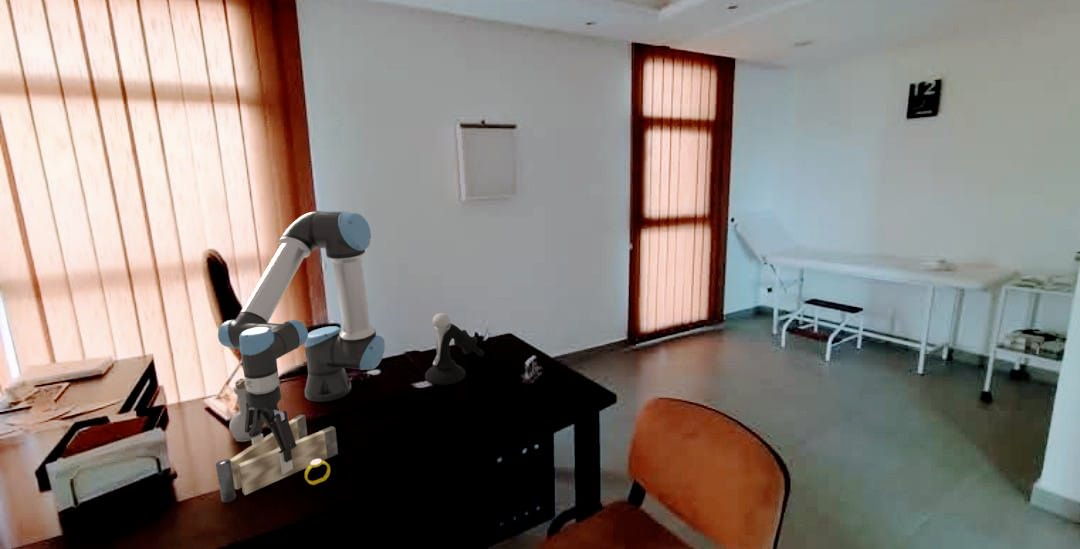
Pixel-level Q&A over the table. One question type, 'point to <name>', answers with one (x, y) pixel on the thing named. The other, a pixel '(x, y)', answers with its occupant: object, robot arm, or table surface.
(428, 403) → the table surface
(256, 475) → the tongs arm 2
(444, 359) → the sculpture
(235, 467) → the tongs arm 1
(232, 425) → the potion bottle
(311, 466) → the gold ring
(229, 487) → the post
